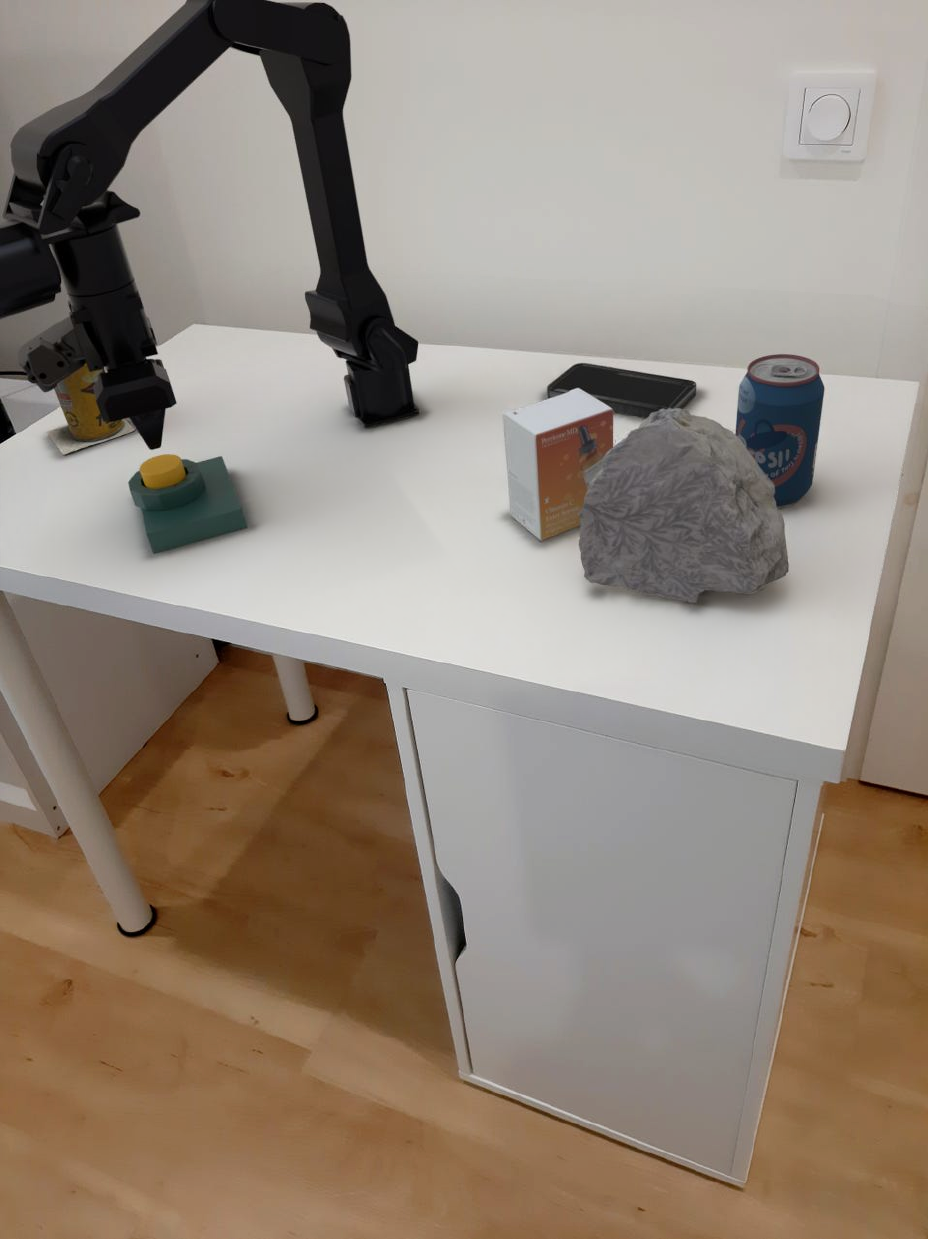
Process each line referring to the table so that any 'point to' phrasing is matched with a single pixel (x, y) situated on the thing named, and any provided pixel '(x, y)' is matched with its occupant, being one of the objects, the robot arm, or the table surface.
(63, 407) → the condiment
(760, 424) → the soda can
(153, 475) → the cylinder
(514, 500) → the small box
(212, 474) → the teal square base
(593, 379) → the phone
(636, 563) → the decorative rock
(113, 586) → the table surface
